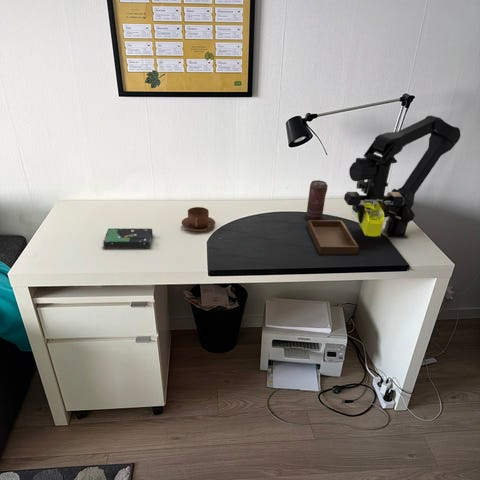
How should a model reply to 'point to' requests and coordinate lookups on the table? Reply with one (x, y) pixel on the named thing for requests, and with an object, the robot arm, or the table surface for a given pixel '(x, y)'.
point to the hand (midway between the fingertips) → (368, 222)
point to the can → (316, 200)
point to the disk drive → (128, 238)
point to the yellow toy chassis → (372, 219)
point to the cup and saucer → (198, 220)
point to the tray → (332, 237)
